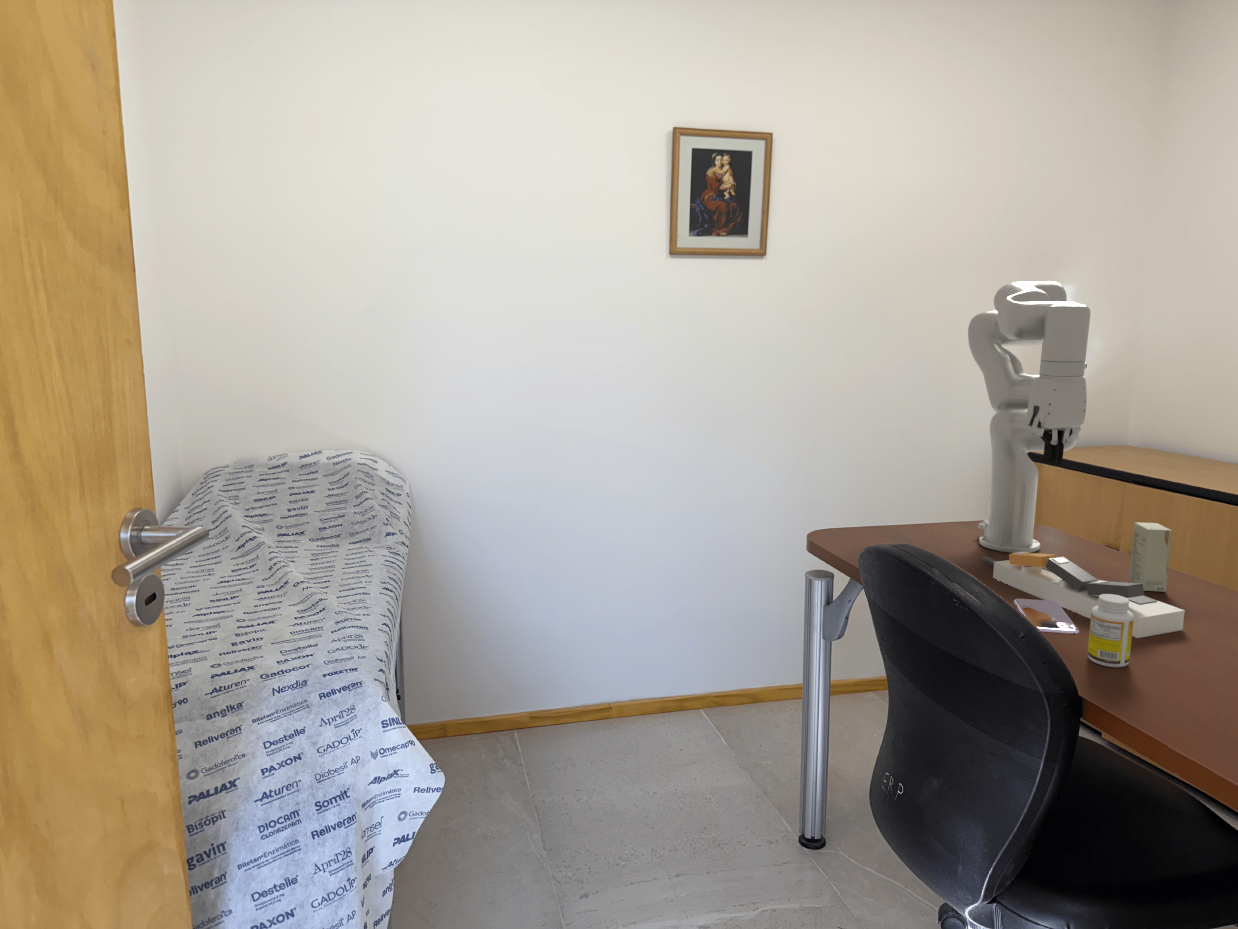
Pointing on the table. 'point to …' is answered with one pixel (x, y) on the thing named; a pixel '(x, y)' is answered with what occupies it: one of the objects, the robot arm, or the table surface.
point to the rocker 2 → (1070, 573)
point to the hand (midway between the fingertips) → (1052, 463)
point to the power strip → (1087, 598)
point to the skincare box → (1150, 556)
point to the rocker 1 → (1030, 559)
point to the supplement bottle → (1110, 631)
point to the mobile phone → (1046, 615)
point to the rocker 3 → (1115, 588)
